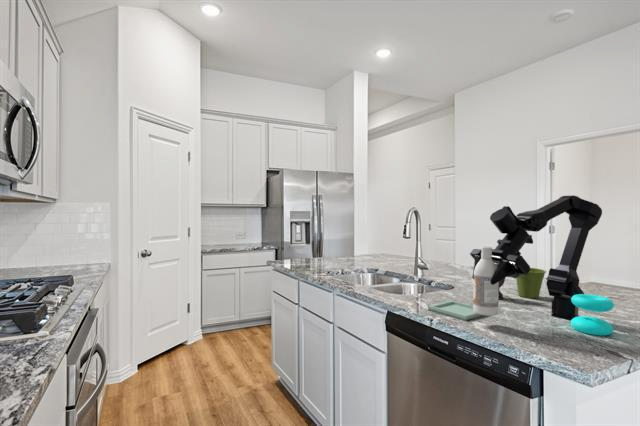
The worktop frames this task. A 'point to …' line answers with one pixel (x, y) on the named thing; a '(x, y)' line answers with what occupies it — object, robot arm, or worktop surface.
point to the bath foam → (485, 285)
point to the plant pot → (530, 283)
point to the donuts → (592, 323)
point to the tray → (455, 310)
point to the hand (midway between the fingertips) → (482, 281)
